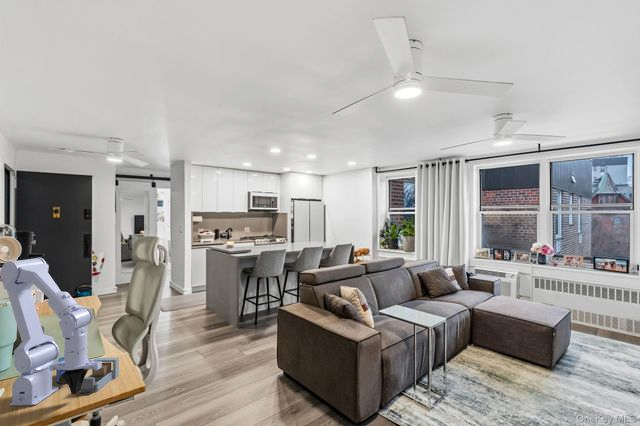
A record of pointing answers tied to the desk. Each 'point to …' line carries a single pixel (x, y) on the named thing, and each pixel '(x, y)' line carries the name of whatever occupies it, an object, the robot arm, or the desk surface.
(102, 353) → the desk surface
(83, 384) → the sled
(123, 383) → the desk surface
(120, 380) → the desk surface
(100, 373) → the walnut block
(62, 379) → the perfume bottle
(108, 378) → the arch track
